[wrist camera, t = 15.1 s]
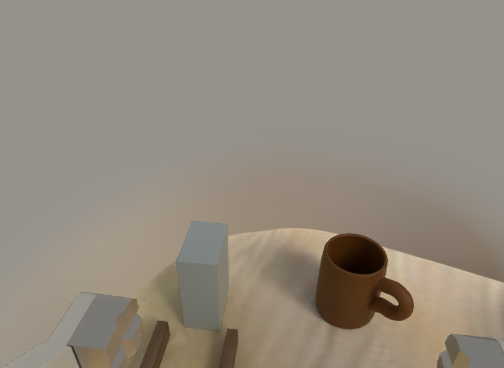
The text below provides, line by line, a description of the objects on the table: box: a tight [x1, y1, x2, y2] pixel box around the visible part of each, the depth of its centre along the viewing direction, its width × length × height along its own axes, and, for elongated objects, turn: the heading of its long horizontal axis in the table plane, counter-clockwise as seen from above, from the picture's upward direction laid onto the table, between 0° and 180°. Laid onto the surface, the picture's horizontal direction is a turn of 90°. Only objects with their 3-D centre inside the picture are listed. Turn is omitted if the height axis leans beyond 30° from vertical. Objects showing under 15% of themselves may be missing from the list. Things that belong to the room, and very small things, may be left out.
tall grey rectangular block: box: [176, 221, 229, 331], centre depth 48 cm, size 4×7×11 cm, turn 174°
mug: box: [316, 234, 414, 329], centre depth 48 cm, size 12×8×9 cm, turn 37°
